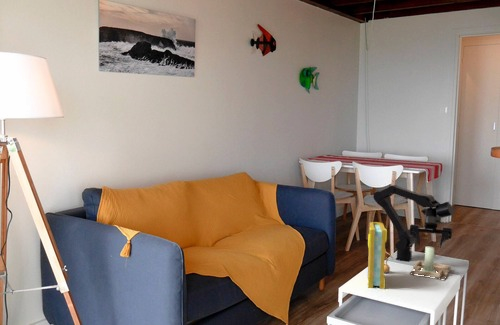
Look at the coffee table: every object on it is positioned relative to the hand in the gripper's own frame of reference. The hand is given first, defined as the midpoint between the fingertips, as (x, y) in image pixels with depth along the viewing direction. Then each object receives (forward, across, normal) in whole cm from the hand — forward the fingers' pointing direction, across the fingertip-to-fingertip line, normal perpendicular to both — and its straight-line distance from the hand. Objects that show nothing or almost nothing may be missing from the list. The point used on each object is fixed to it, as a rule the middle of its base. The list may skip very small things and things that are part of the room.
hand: (429, 246), depth 219 cm
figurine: (+16, -19, +2) cm, 25 cm away
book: (+26, -22, -8) cm, 35 cm away
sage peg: (+11, 0, +6) cm, 12 cm away
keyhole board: (+8, +1, +9) cm, 13 cm away
